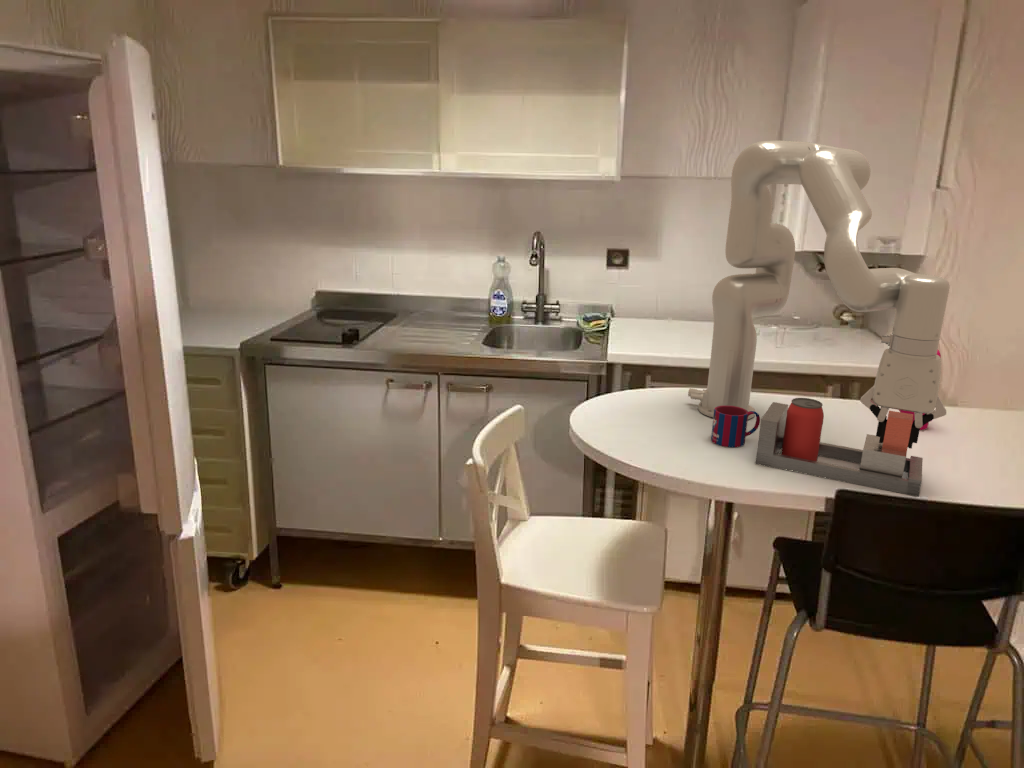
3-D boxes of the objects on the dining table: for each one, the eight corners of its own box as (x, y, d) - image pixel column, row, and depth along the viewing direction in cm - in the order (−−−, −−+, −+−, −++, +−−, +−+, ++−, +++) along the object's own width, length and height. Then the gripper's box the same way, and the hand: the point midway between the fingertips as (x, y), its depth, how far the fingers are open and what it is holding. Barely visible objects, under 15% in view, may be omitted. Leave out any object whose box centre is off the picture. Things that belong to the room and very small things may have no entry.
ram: (857, 479, 140) (868, 417, 137) (861, 463, 148) (872, 404, 144) (900, 487, 137) (912, 424, 134) (902, 470, 145) (913, 410, 141)
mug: (706, 436, 161) (709, 405, 159) (751, 435, 162) (755, 404, 160) (718, 448, 154) (722, 416, 152) (765, 447, 156) (769, 415, 154)
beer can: (799, 469, 145) (808, 409, 141) (773, 457, 150) (781, 399, 147) (823, 464, 148) (833, 405, 144) (797, 452, 153) (805, 395, 150)
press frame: (755, 463, 147) (760, 419, 144) (767, 443, 157) (772, 402, 155) (918, 496, 134) (928, 448, 132) (919, 472, 145) (928, 427, 142)
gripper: (860, 343, 135) (844, 440, 140) (969, 357, 128) (947, 459, 133) (863, 335, 141) (848, 428, 147) (967, 348, 134) (947, 446, 139)
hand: (895, 442), depth 140 cm, fingers closed on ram, 4 cm apart
